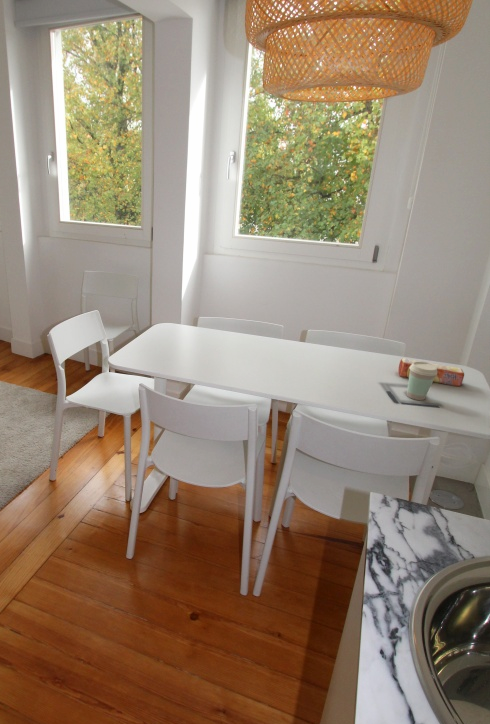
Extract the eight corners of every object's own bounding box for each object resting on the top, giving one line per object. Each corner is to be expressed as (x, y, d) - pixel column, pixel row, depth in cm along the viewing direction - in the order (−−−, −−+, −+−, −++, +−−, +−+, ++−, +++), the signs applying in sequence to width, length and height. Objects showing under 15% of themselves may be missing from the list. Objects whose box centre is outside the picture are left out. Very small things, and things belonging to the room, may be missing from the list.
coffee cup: (428, 394, 168) (437, 363, 163) (430, 404, 161) (440, 372, 156) (401, 388, 171) (410, 358, 166) (402, 398, 164) (411, 367, 159)
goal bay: (439, 407, 158) (439, 407, 157) (394, 404, 160) (394, 403, 160) (421, 388, 173) (422, 387, 173) (381, 385, 175) (381, 384, 175)
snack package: (458, 381, 179) (463, 365, 176) (461, 389, 173) (466, 372, 170) (396, 371, 186) (401, 355, 183) (397, 378, 181) (402, 362, 178)
